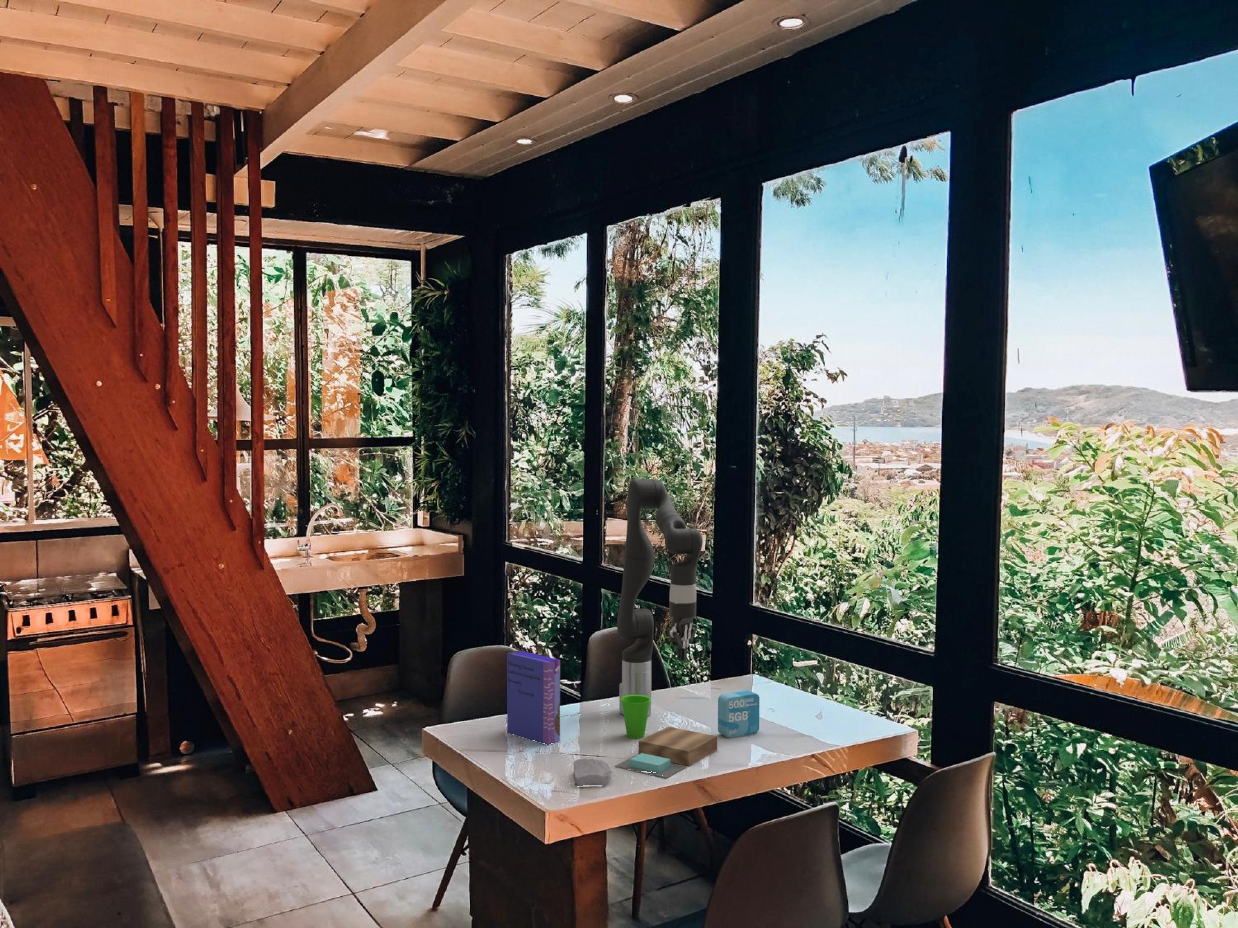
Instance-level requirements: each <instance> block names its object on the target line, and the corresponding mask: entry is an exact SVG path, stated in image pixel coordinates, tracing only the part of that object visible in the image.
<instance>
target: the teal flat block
mask: <svg viewBox="0 0 1238 928" xmlns="http://www.w3.org/2000/svg"><path fill="white" fill-rule="evenodd" d="M634 756H635V755H634ZM632 757H633V756H632ZM630 758H631V757H630ZM671 763H672V762H671V759H667V758H663V757H658V756H653V755H649V754H644V753H641V754H639V755H636V756H635V757H633V758H631V759H630V767H634V768H638V769H643V770H647V771H652V772H656V773H660V772H662V771H664V770H665V769H667V768H669V767H671Z"/></svg>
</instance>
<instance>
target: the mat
mask: <svg viewBox="0 0 1238 928" xmlns="http://www.w3.org/2000/svg"><path fill="white" fill-rule="evenodd" d="M635 756H637V755H634V756H632V757H630V758H627V759H625V760H624V761H622V762H620V763H618V764H615V765H614V767H615V766H618V767H621V768H620V769H622V768H626V769H625V770H627V769H631V770H634V771H633V772H635V771H639V772H638V773H640V772H641V771H647V770H643V769H638V768H634V767H630V759H631V758H633V757H635ZM618 767H617V768H618ZM684 768H685V769H686V768H687V766H685V765H681V764H676V763H672V762H671V767H669V768H667V769H665V770H664V771H662V772H660V773H653V772H651V771H647V772H651V773H648V774H652V775H657V776H659V777H658V778H661V777H664V778H663V779H665V778H667V777H669V778H670V777H672V776H674V775H675V773H676V774H678V773H679V772H681V771H683V770H685V769H684ZM682 769H683V770H682ZM631 770H630V771H631ZM677 772H678V773H677ZM648 774H647V775H648ZM673 774H674V775H673ZM652 775H651V776H652ZM662 775H663V776H662ZM671 775H672V776H671ZM657 776H656V777H657ZM667 779H668V778H667Z"/></svg>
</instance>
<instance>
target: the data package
mask: <svg viewBox="0 0 1238 928" xmlns="http://www.w3.org/2000/svg"><path fill="white" fill-rule="evenodd" d="M717 731H718V734H720V735H722V736H724V737H726V738H727V739H731V738H738V737H743V736H750V735H755V734H757V733H758V732H759V731H760V695H759V694H758V693H756V692H754V691H751V690H741V691H733V692H727V693H722V694H720V695H718V698H717Z"/></svg>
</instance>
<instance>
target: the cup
mask: <svg viewBox="0 0 1238 928" xmlns="http://www.w3.org/2000/svg"><path fill="white" fill-rule="evenodd" d="M620 700H621V701H622V706H623V713H624V715H623V718H624V726H625V731H626V737H628V738H630V739H641V738H642V739H643V738H645V734H646V730H647V729H646V728H647V722H648V710H649V704H650V701H651V702H652V697H651V698H650V697H648V696H644V695H627V696H623V697H621V699H620Z"/></svg>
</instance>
